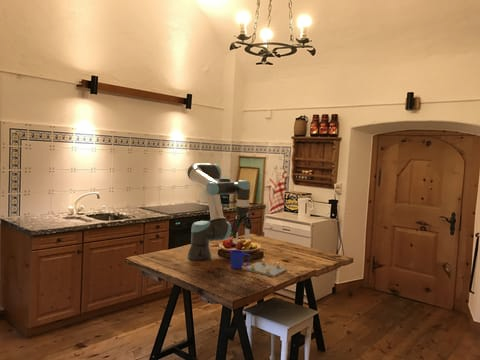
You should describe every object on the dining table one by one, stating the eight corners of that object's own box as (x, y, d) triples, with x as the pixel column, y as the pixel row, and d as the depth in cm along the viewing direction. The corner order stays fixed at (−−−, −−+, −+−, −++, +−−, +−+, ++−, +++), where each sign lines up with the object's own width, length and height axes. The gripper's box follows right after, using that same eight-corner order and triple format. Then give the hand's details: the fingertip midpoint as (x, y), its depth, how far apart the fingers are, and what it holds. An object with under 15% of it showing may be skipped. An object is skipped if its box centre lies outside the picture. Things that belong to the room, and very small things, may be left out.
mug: (248, 271, 238) (248, 254, 237) (228, 269, 240) (228, 252, 239) (250, 267, 246) (251, 251, 245) (231, 265, 248) (231, 249, 247)
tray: (244, 270, 240) (244, 263, 239) (257, 263, 253) (257, 257, 253) (274, 277, 229) (274, 270, 229) (286, 270, 243) (286, 263, 242)
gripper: (237, 209, 227) (235, 246, 229) (258, 204, 248) (256, 238, 250) (225, 207, 231) (224, 244, 233) (248, 203, 252) (246, 236, 254)
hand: (241, 241), depth 241 cm, fingers open, 13 cm apart
